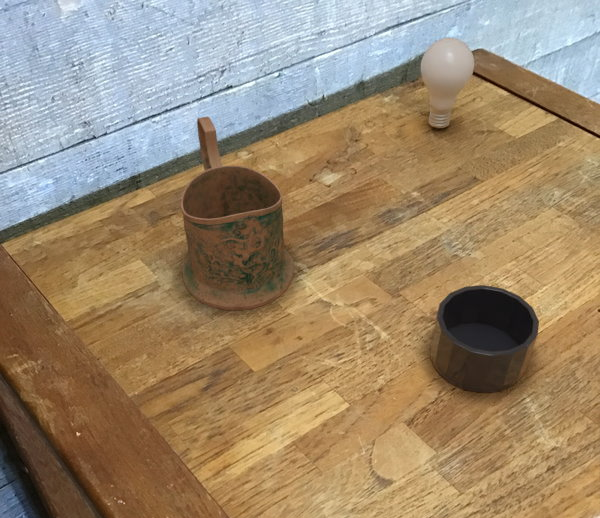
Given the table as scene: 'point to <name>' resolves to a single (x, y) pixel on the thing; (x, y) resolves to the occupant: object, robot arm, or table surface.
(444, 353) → the stand
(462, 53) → the lightbulb
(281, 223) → the mug
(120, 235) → the table surface
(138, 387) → the table surface
